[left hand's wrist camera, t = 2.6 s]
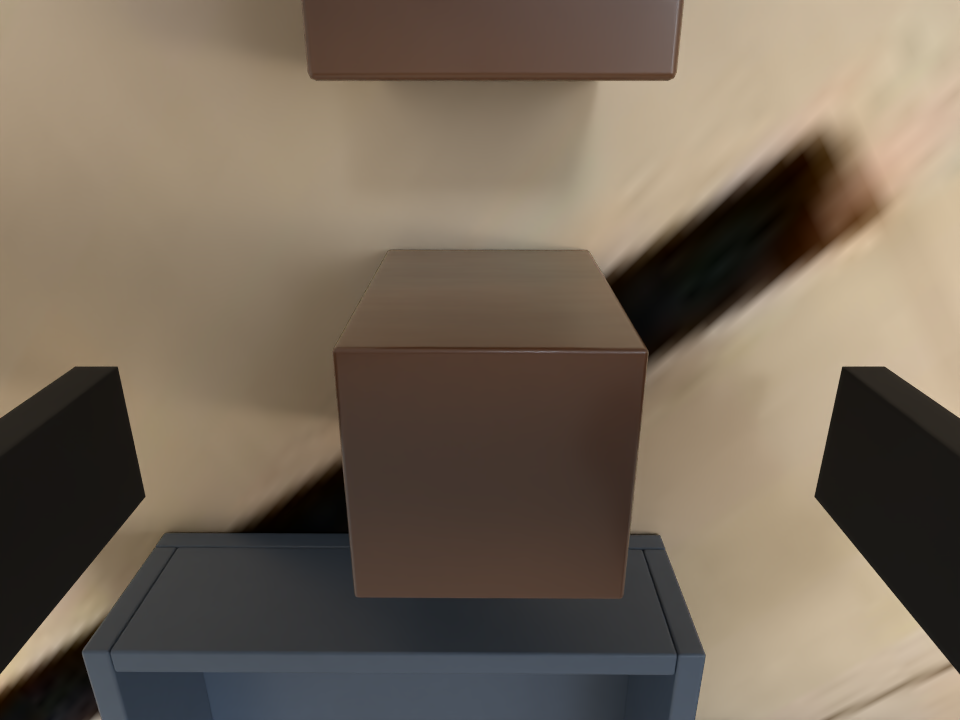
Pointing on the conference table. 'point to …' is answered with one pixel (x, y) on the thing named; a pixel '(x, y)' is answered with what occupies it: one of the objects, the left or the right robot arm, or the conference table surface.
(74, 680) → the conference table surface
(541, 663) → the tray
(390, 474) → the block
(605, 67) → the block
